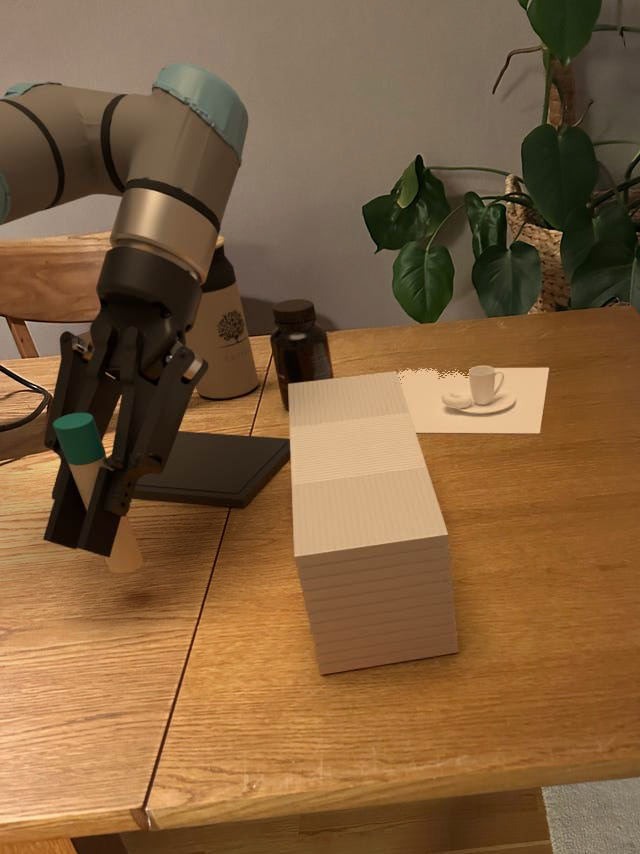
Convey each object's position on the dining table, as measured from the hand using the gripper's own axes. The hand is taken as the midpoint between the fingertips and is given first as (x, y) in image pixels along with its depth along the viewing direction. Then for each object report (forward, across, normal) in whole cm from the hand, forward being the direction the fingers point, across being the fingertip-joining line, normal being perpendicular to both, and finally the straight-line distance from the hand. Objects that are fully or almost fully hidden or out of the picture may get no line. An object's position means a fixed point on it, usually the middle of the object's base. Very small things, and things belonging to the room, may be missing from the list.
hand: (76, 548), depth 66 cm
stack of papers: (-6, -16, -17) cm, 24 cm away
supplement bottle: (-26, +8, -37) cm, 46 cm away
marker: (0, 0, -6) cm, 6 cm away
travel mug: (-27, +22, -38) cm, 51 cm away
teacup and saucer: (-31, -10, -42) cm, 53 cm away
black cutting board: (-13, +11, -23) cm, 29 cm away
